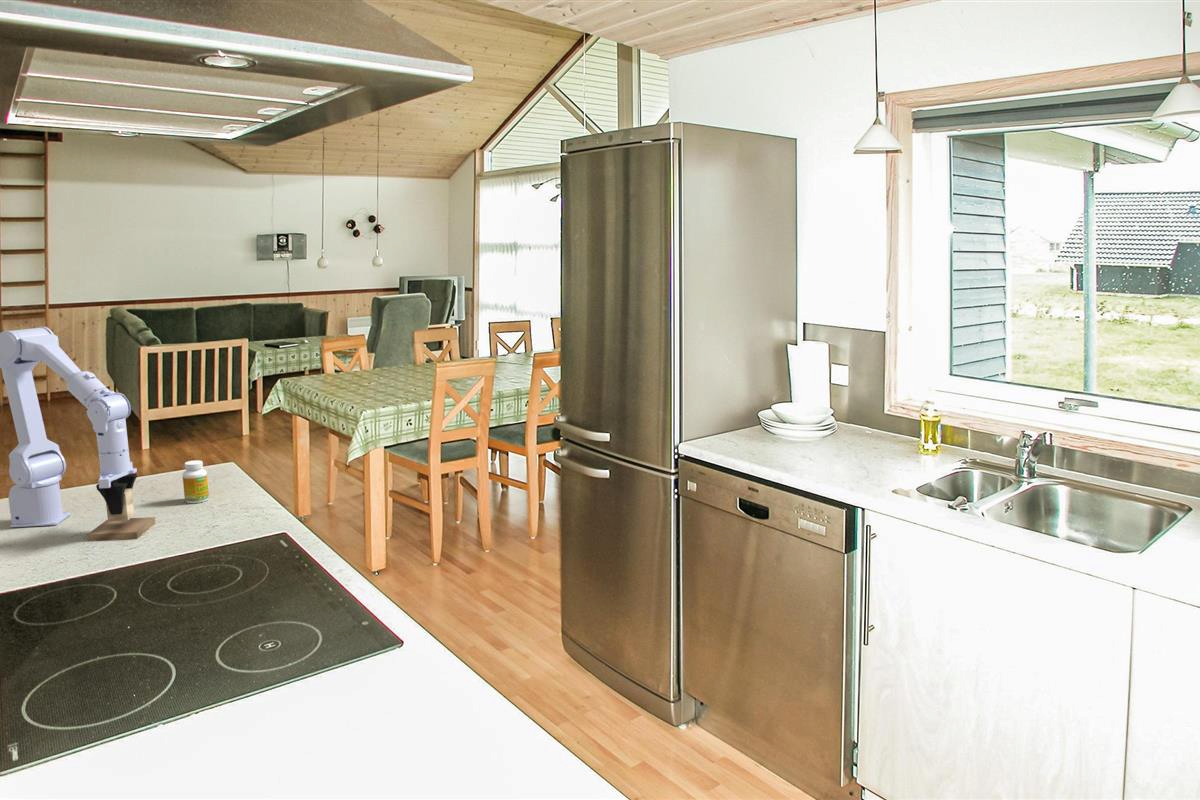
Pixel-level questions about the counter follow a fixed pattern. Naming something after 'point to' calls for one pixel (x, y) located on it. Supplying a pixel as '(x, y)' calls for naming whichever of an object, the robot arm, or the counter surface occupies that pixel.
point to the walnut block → (121, 529)
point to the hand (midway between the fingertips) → (120, 510)
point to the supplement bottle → (195, 482)
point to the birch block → (127, 508)
